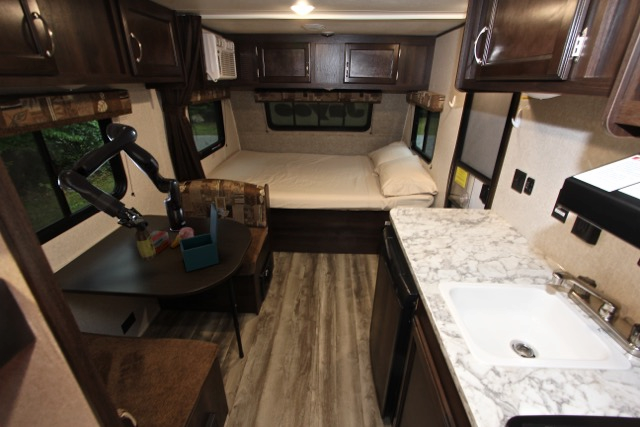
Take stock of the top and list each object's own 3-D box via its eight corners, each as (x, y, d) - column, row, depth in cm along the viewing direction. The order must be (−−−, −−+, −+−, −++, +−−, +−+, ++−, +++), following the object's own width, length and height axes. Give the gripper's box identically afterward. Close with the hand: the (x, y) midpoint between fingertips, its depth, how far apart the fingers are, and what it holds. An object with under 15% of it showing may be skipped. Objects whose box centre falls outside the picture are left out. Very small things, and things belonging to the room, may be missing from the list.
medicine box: (157, 242, 171) (154, 230, 167) (170, 243, 170) (167, 231, 166) (139, 256, 157) (136, 243, 154) (153, 257, 156) (150, 244, 153)
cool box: (186, 271, 145) (182, 251, 140) (183, 259, 155) (179, 239, 150) (219, 263, 152) (216, 243, 147) (213, 251, 162) (210, 232, 157)
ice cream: (175, 251, 159) (197, 233, 165) (163, 239, 160) (186, 221, 166) (180, 256, 169) (201, 238, 175) (169, 244, 170) (190, 227, 176)
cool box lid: (216, 212, 141) (227, 212, 144) (211, 203, 151) (221, 203, 154) (215, 242, 147) (225, 241, 150) (209, 232, 157) (220, 231, 160)
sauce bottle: (157, 258, 140) (147, 221, 131) (142, 262, 137) (131, 225, 128) (155, 252, 144) (145, 216, 136) (141, 255, 141) (130, 219, 132)
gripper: (106, 205, 120) (145, 229, 127) (121, 193, 132) (156, 215, 140) (96, 218, 121) (135, 240, 128) (111, 204, 134) (146, 225, 141)
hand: (145, 227), depth 134 cm, fingers closed on sauce bottle, 4 cm apart
